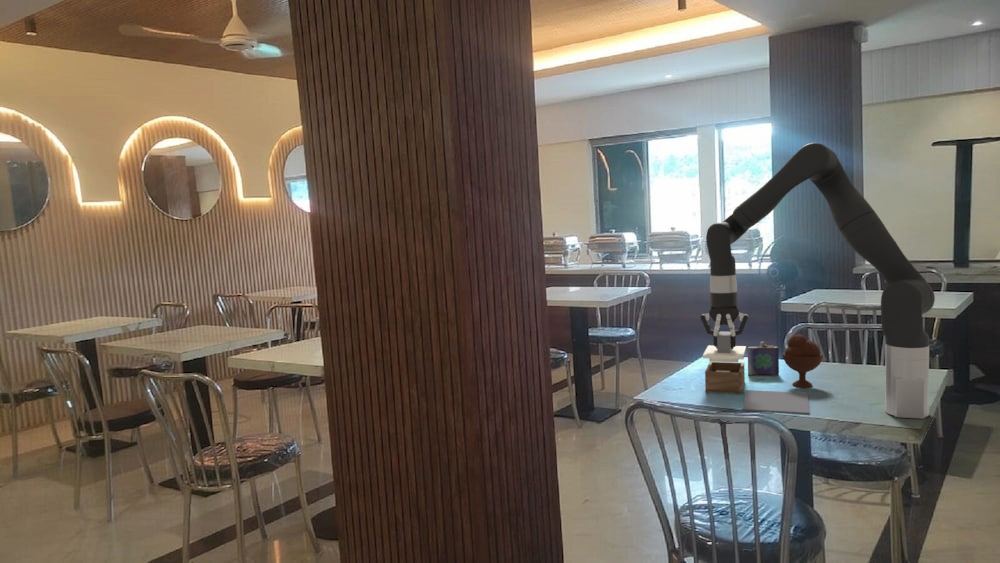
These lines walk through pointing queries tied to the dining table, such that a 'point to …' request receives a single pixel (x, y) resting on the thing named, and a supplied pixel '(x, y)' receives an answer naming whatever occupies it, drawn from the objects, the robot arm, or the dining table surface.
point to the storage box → (725, 377)
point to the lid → (724, 350)
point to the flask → (763, 360)
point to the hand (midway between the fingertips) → (725, 348)
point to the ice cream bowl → (802, 358)
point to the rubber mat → (776, 402)
